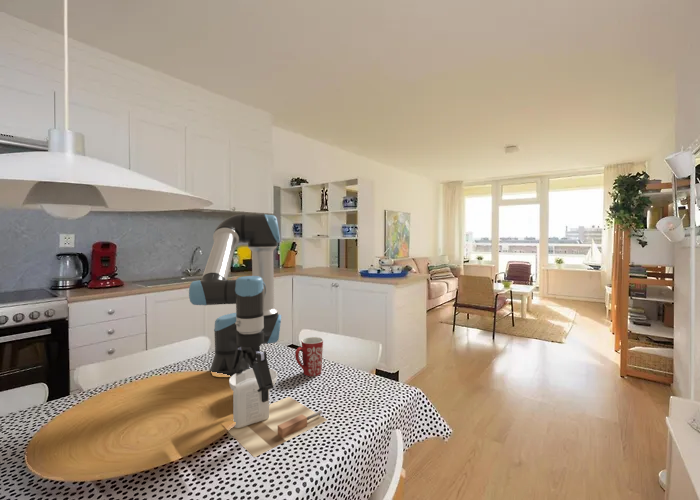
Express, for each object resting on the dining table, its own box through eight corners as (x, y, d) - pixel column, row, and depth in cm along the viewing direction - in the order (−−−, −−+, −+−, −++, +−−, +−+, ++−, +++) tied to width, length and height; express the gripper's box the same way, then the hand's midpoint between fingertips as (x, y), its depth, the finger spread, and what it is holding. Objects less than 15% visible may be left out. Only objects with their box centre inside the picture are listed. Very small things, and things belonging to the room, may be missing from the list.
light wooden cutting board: (220, 429, 92) (220, 424, 92) (289, 401, 108) (289, 396, 108) (254, 463, 78) (254, 457, 77) (327, 425, 93) (327, 420, 93)
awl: (282, 438, 85) (282, 429, 85) (277, 434, 87) (277, 425, 87) (323, 417, 95) (323, 409, 95) (318, 414, 96) (318, 406, 96)
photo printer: (266, 412, 98) (265, 372, 98) (271, 418, 94) (271, 377, 94) (231, 423, 92) (230, 380, 92) (235, 430, 88) (235, 386, 88)
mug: (314, 366, 137) (314, 335, 137) (328, 372, 131) (327, 339, 130) (289, 375, 129) (288, 341, 128) (302, 382, 122) (302, 347, 122)
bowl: (284, 400, 108) (283, 380, 108) (234, 414, 100) (234, 391, 100) (269, 383, 122) (269, 364, 122) (225, 393, 114) (224, 373, 113)
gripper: (219, 324, 99) (221, 392, 100) (259, 343, 81) (261, 426, 82) (242, 319, 104) (244, 384, 105) (285, 337, 86) (286, 414, 87)
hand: (251, 402), depth 93 cm, fingers open, 13 cm apart
